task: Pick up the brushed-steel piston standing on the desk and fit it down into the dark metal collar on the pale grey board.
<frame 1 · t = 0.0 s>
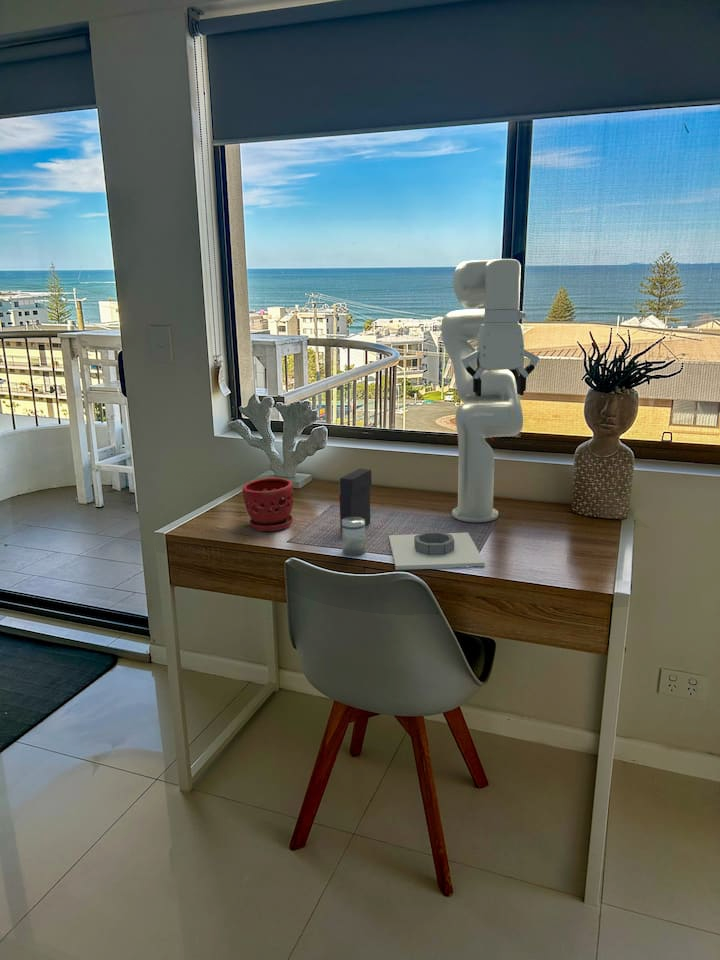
hand: (499, 395, 155), 37 cm above the table, tool pointing down, fingers open, 9 cm apart
upright black box: (356, 529, 180), on the table
plant pot: (270, 527, 184), on the table
piston: (354, 551, 164), on the table
holder: (434, 552, 163), on the table
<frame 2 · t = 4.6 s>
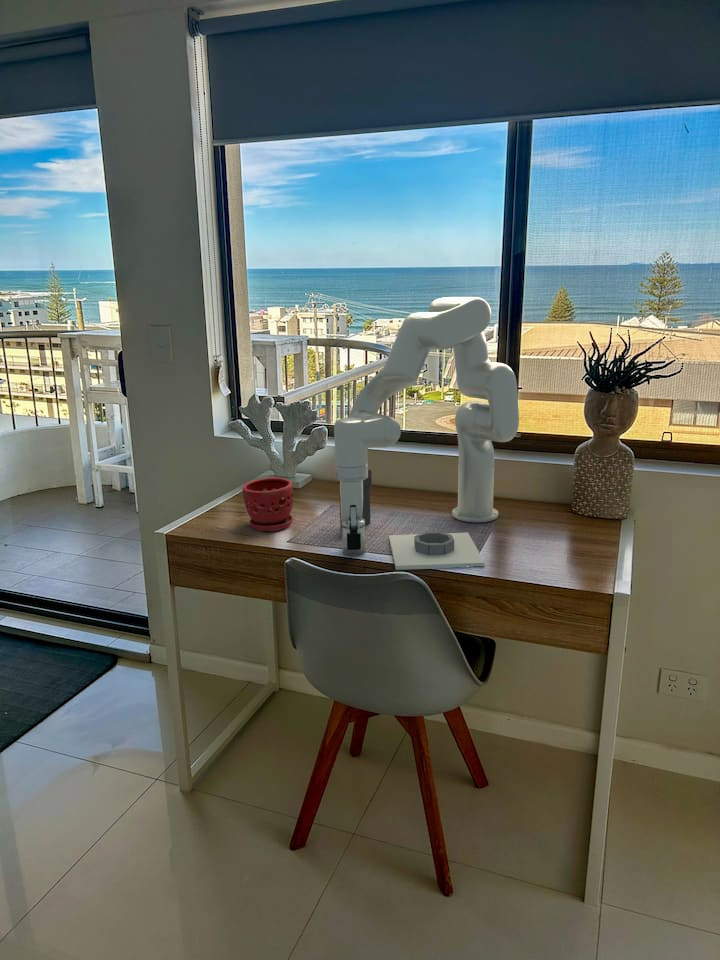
hand: (353, 543, 163), 2 cm above the table, tool pointing down, fingers closed on piston, 5 cm apart
piston: (353, 551, 164), on the table, touching gripper
everything else where it was.
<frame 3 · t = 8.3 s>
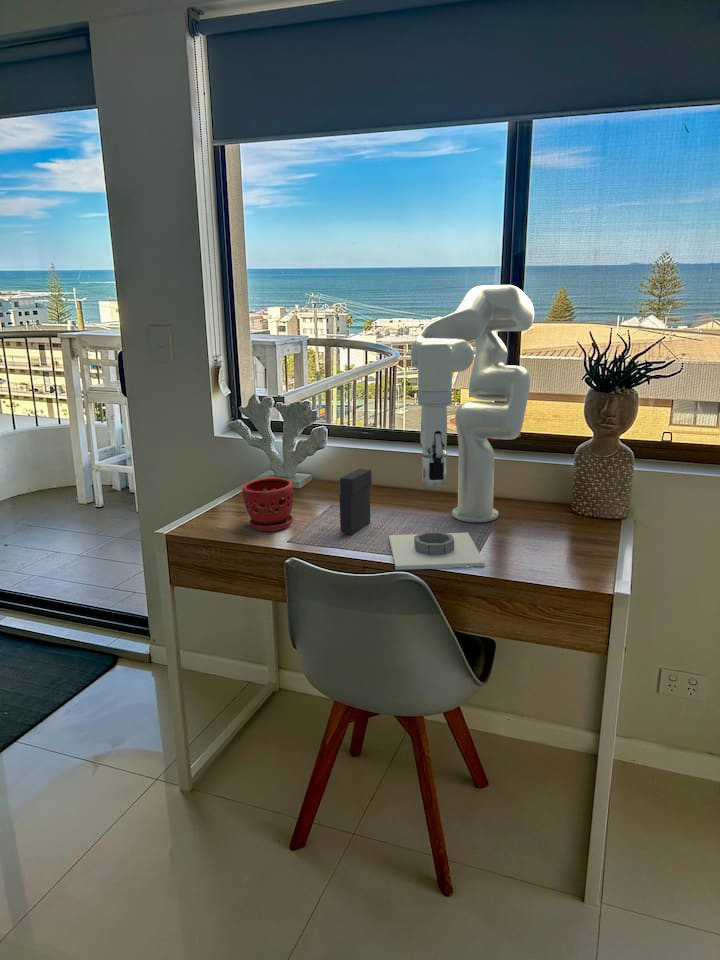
hand: (434, 475, 158), 19 cm above the table, tool pointing down, fingers closed on piston, 5 cm apart
piston: (434, 483, 158), point 17 cm above the table, touching gripper
everything else where it was.
when the fingers open (4 cm above the table, at t = 12.0 s): piston drops 1 cm, resting on holder.
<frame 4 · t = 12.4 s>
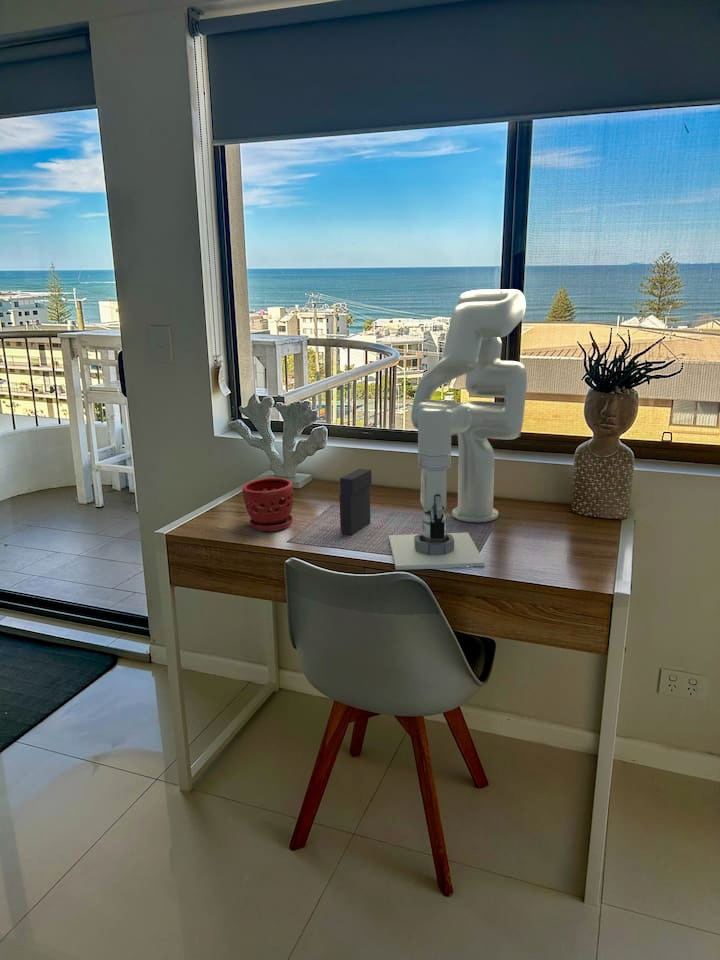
hand: (434, 531, 161), 5 cm above the table, tool pointing down, fingers open, 9 cm apart
piston: (434, 547, 162), point 1 cm above the table, touching holder
everything else where it was.
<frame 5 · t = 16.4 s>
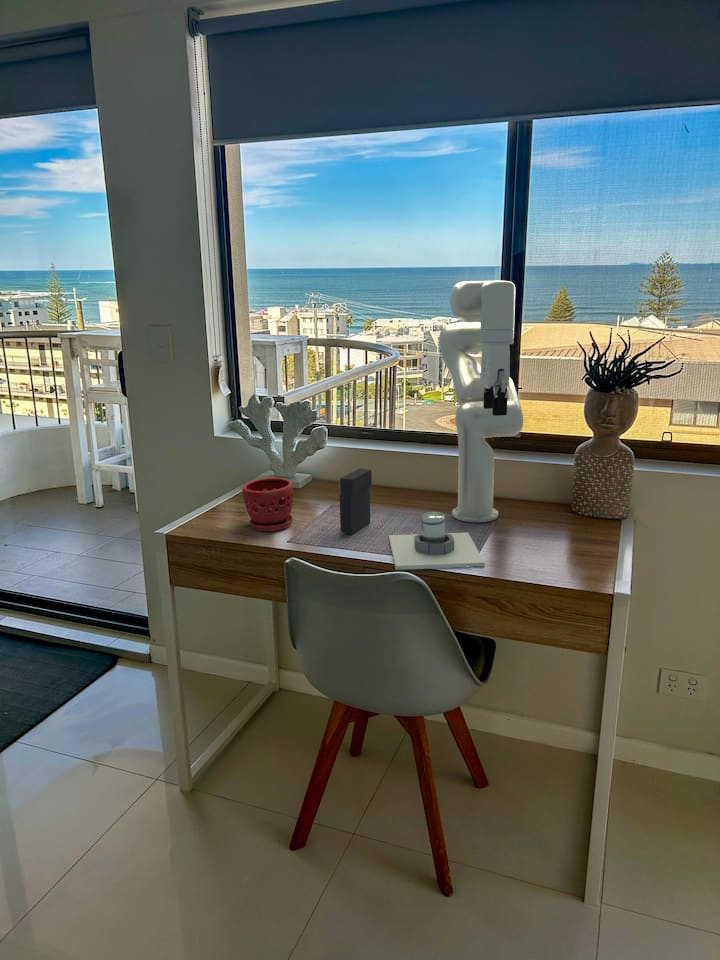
hand: (494, 411, 160), 32 cm above the table, tool pointing down, fingers open, 9 cm apart
nothing on the table moved.
at the end: piston 0.1 cm off-centre on the holder, point 1.1 cm above the holder's base; piston tilted 3°; the gripper is holding nothing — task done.
